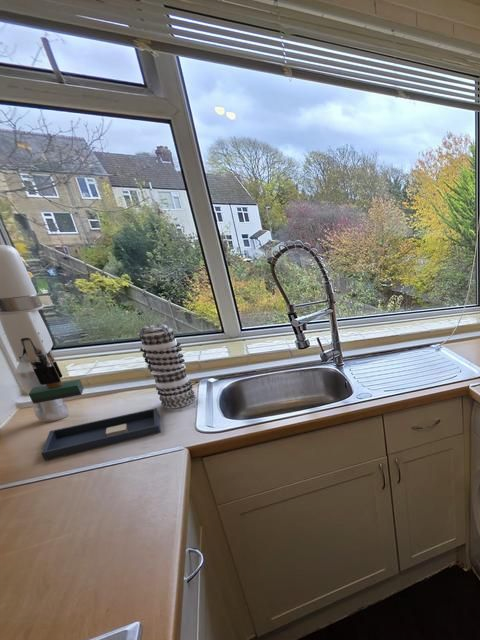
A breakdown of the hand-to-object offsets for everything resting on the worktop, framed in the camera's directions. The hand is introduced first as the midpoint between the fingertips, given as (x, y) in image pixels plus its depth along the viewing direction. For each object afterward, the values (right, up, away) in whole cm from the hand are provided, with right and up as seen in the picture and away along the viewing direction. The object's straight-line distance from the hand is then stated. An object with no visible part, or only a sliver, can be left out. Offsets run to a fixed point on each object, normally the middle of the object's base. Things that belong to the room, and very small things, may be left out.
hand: (51, 380), depth 96 cm
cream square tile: (+3, -14, +13) cm, 19 cm away
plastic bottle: (-22, -11, +20) cm, 32 cm away
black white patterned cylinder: (+6, -8, +30) cm, 32 cm away
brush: (0, -4, +2) cm, 4 cm away
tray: (+2, -15, +12) cm, 19 cm away
